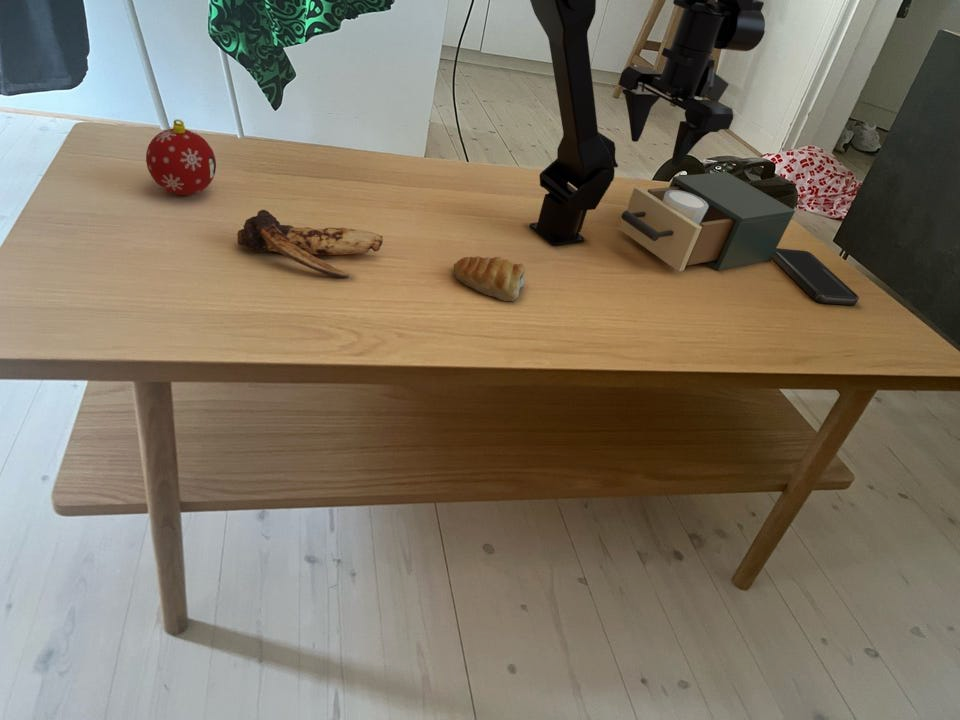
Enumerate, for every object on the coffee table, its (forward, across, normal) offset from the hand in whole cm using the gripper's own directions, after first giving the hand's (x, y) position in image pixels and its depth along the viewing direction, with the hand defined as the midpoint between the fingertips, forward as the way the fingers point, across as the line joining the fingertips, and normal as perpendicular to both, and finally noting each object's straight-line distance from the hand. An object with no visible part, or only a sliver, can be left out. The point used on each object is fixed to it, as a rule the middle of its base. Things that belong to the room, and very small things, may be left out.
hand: (654, 153), depth 105 cm
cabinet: (+13, -8, -13) cm, 20 cm away
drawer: (+12, -8, -1) cm, 14 cm away
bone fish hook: (+13, +2, +54) cm, 55 cm away
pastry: (+13, -10, +33) cm, 37 cm away
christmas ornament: (+13, +22, +64) cm, 69 cm away
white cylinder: (+11, -8, -1) cm, 14 cm away
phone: (+13, -21, -22) cm, 33 cm away
